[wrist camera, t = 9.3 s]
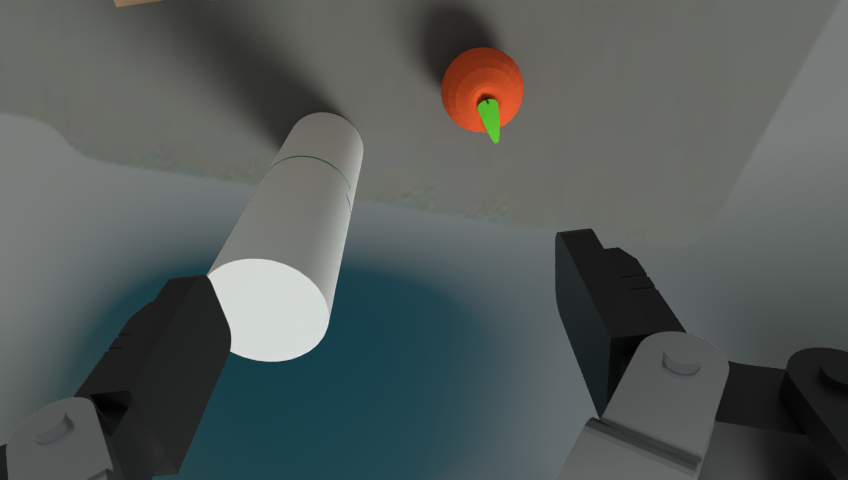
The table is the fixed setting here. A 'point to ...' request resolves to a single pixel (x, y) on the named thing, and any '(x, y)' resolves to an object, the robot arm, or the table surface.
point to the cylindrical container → (291, 243)
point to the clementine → (482, 90)
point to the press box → (135, 2)
